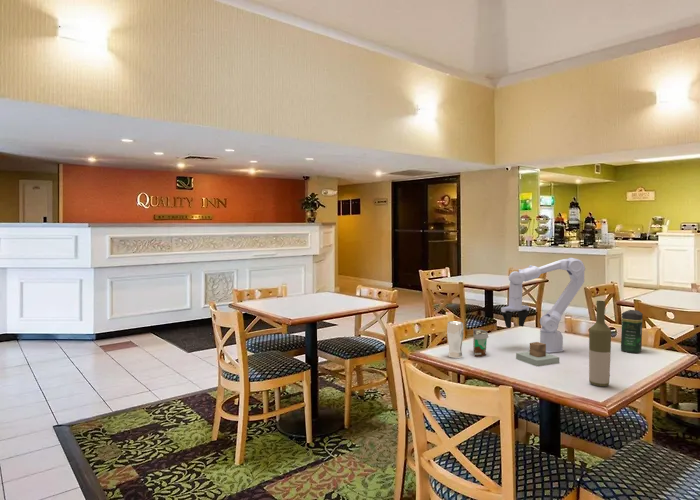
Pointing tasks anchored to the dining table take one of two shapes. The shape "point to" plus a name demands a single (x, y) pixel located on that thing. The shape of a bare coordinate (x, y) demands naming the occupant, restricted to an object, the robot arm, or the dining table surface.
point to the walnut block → (537, 349)
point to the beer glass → (455, 338)
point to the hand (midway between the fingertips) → (514, 326)
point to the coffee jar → (631, 331)
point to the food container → (479, 342)
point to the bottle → (599, 349)
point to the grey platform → (537, 359)
